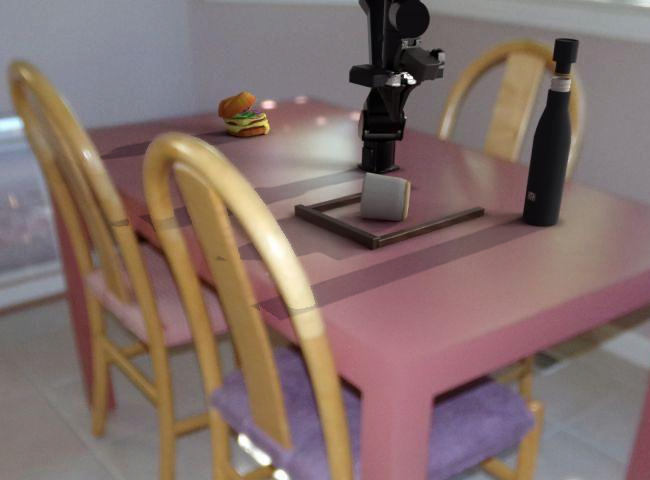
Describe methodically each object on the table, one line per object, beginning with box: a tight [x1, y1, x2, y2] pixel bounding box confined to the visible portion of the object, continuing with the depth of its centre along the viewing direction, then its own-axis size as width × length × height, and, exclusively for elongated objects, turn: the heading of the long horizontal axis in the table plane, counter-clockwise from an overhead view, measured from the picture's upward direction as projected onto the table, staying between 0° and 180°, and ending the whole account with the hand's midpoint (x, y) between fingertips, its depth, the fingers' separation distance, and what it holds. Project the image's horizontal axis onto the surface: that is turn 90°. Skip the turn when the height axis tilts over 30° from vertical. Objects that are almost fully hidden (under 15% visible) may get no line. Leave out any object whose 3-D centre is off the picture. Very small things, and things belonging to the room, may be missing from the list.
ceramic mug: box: [359, 172, 412, 222], centre depth 139 cm, size 11×8×8 cm
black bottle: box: [521, 37, 580, 227], centre depth 135 cm, size 6×6×30 cm
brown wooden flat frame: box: [293, 181, 486, 250], centre depth 141 cm, size 28×20×2 cm
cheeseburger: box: [217, 91, 270, 138], centre depth 183 cm, size 10×11×10 cm
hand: (395, 121), depth 147 cm, fingers closed
